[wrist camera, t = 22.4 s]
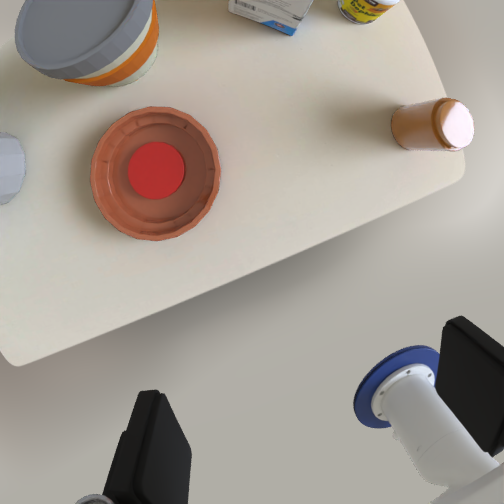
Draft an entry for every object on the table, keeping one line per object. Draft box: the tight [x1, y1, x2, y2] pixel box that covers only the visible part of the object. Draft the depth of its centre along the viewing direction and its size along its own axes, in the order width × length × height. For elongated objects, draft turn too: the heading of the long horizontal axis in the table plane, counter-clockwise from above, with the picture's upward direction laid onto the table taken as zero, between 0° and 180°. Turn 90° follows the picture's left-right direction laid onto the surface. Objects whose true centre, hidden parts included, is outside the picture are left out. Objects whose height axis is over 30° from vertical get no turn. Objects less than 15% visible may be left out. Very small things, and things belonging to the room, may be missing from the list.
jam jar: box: [391, 98, 474, 151], centre depth 31 cm, size 6×6×10 cm
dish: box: [90, 107, 221, 241], centre depth 34 cm, size 14×14×4 cm
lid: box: [128, 142, 186, 200], centre depth 34 cm, size 6×6×1 cm
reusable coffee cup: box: [15, 0, 159, 86], centre depth 24 cm, size 13×13×15 cm
